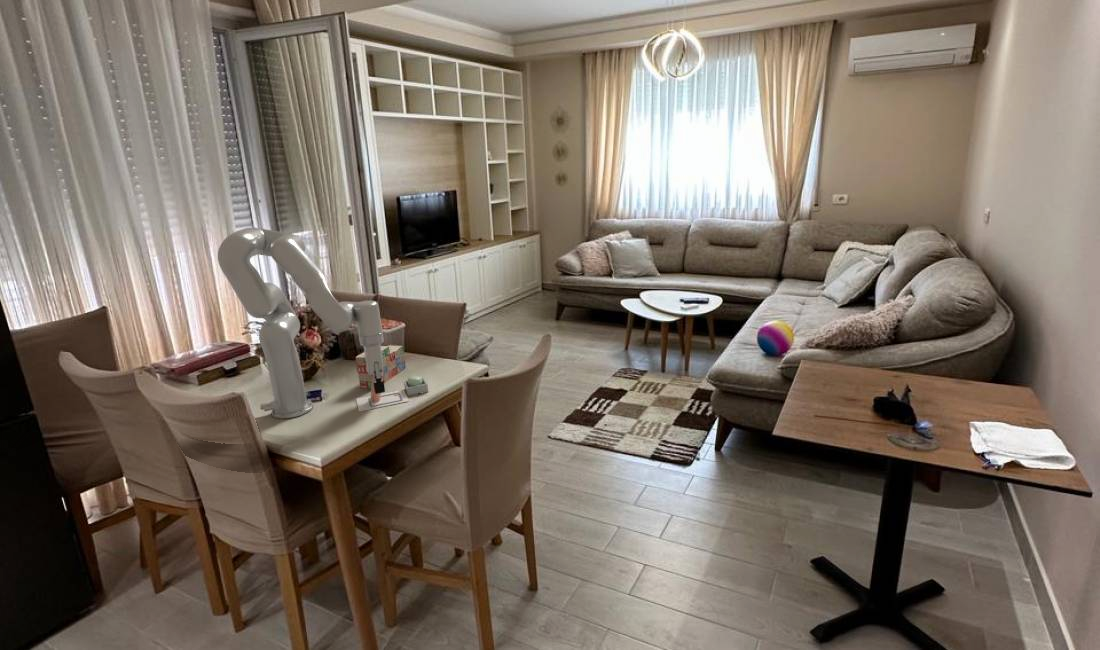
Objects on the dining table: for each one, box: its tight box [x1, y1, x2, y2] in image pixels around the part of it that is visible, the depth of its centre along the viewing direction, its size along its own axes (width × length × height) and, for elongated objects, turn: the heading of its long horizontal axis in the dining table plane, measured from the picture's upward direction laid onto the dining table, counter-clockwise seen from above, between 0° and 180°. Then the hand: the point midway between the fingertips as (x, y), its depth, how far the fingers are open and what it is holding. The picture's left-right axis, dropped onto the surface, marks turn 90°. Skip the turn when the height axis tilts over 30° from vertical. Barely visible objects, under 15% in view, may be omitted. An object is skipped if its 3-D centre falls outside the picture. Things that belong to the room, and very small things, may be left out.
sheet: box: [355, 389, 410, 412], centre depth 194 cm, size 16×11×1 cm
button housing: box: [403, 377, 429, 397], centre depth 200 cm, size 7×7×3 cm
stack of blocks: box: [355, 345, 406, 390], centre depth 213 cm, size 21×6×12 cm, turn 163°
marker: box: [370, 366, 383, 401], centre depth 192 cm, size 3×3×12 cm
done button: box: [407, 375, 423, 387], centre depth 200 cm, size 5×5×3 cm
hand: (379, 389), depth 193 cm, fingers open, 3 cm apart
